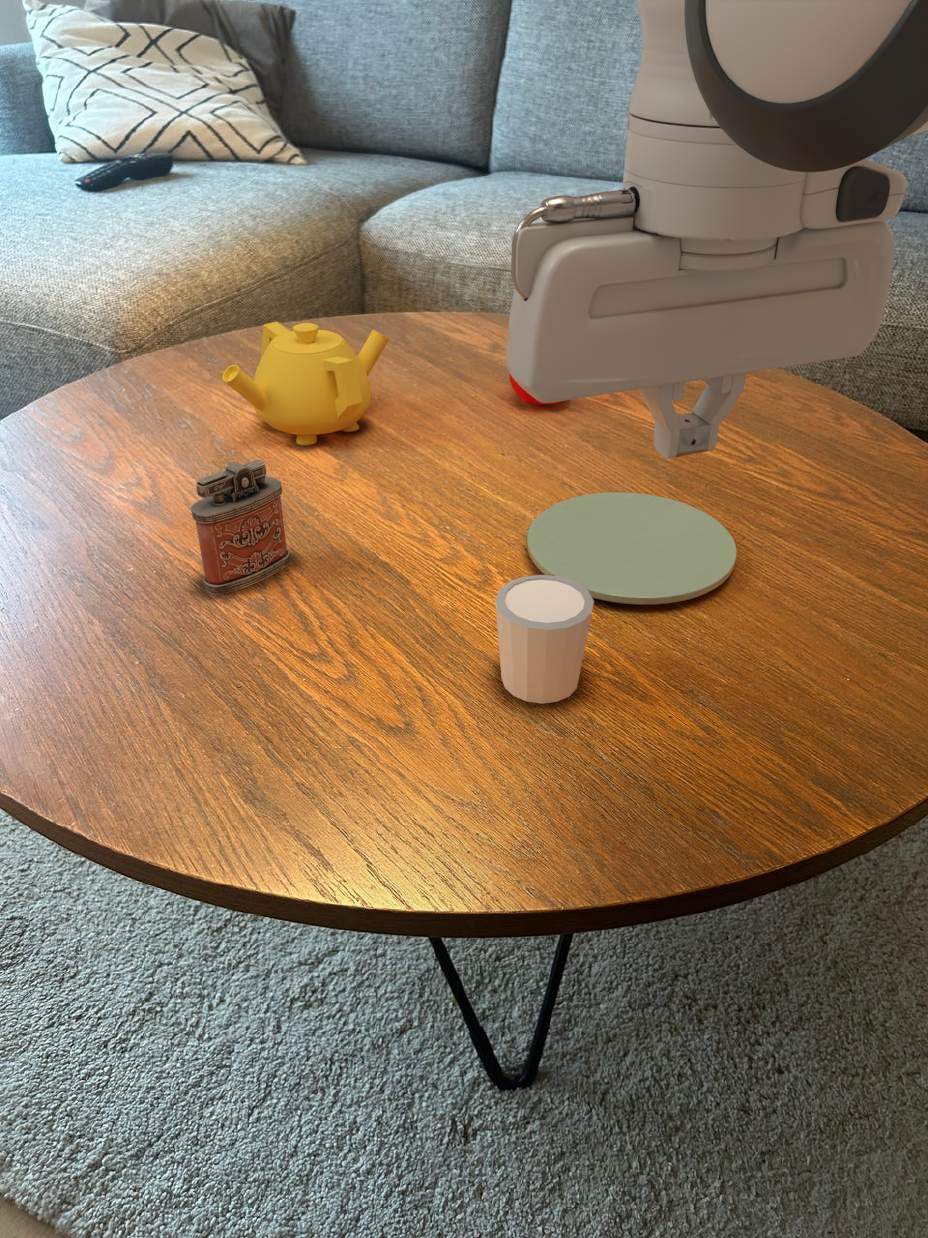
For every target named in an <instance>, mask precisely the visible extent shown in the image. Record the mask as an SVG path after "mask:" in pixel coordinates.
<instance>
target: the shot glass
mask: <svg viewBox="0 0 928 1238" xmlns="http://www.w3.org/2000/svg"><path fill="white" fill-rule="evenodd" d="M594 603H595V600H594V598H592V597H591V595H590V593H589V591H588V590H586V589H585V588H583V587H582V586H581V585H579V584H578V583H576V582H574V581H571V580H568V579H565V578H562V577H557V576H548V575H545V574H536V575H535V574H534V575H525V576H521V577H519V578H516V579H513V580H510V581H507V583H505V584H504V585H503V586H501V588H499V589H498V591H497V593H496V596H495V600H494V605H495V617H496V618H495V619H496V628H497V629H496V630H497V631H496V632H497V641H498V650H499V651H498V653H499V664H500V677H501V682H502V684H503V686H504V689H505V690H507V692H508V693H510V694H511V695H512V696H513V697H515V698H517V699H520V700H522V701H524V702H527V703H533V704H550V703H557V702H560V701H563V700H565V699H567V698H570V696H572V694H573V693H574V692H575V691H576V690H577V689H578V684H579V680H580V675H581V670H582V664H583V659H584V654H585V649H586V644H587V640H588V635H589V629H590V625H591V619H592V614H593V609H594Z"/></svg>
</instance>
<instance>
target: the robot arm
mask: <svg viewBox="0 0 928 1238" xmlns="http://www.w3.org/2000/svg"><path fill="white" fill-rule="evenodd" d="M636 9H637V15H638V19H639V26H640V34H641V52H640V54H641V55H640V61H639V67H638V72H637V75H636V78H635V81H634V85H633V87H632V91H631V95H630V97H629V101H628V109H627V111H628V112H627V122H626V123H627V124H626V135H625V136H626V138H625V148H624V149H625V150H624V151H625V152H624V153H625V154H624V165H623V172H622V173H623V176H622V186H621V187H622V188H621V189H618V190H609V191H607V190H606V191H600V192H599V191H598V192H594V193H590V194H585V195H579V196H573V195H569V194H568V195H567V194H566V195H565V194H563V195H562V194H559V195H555V196H550V197H547V198H545V199H543V200H542V201H541V203H540V207H537V208H535V209H533V210H531V211H530V212H529V213H528V214H526V215H525V216H524V217H523V218H522V219H521V220H520V222H519V223H518V225H517V226H516V227H515V228H514V231H513V234H512V237H511V247H510V248H511V253H510V272H511V273H510V274H511V280H512V283H513V287H514V288H513V293H512V300H511V304H510V310H509V311H510V312H509V318H508V325H507V326H508V327H507V339H506V349H505V353H506V354H505V366H506V369H507V371H508V374H509V373H510V375H511V376H512V377H513V379H514V380H515V381H516V382H517V383H518V384H519V386H520V387H521V388H522V389H524V390H525V391H526V392H527V393H528V394H530V395H531V396H532V397H533V398H535V399H536V400H538V401H539V402H542V403H552V402H558V401H560V402H565V401H570V400H577V399H584V398H590V397H596V396H602V395H611V394H615V393H623V392H629V391H636V390H638V391H639V393H640V395H641V397H642V399H643V401H644V403H645V404H646V407H647V409H648V410H649V413H650V414H651V417H652V418H653V419H654V420H655V422H654V432H653V448H654V450H655V452H656V453H658V454H659V455H660V456H661V457H662V458H664V460H665V459H666V460H667V459H674V458H680V457H684V456H685V457H686V456H691V455H696V454H703V453H707V452H712V451H715V449H716V447H717V441H718V434H719V427H720V423H722V422H723V421H724V419H725V418H726V416H727V415H728V414H729V413H730V411H731V409H732V408H733V407H734V405H735V403H736V402H737V401H738V400H739V398H740V396H742V394H743V393H744V390H745V389H744V387H745V382H746V375H747V374H748V373H754V372H760V371H768V370H774V369H780V368H781V369H782V368H787V367H794V366H801V365H806V364H812V363H819V362H820V363H821V362H827V361H833V360H840V359H841V360H842V359H847V358H848V359H849V358H854V357H859V356H860V355H862V353H863V352H864V351H865V350H866V349H867V348H868V347H869V346H870V344H872V341H873V340H874V339H875V338H876V337H877V335H878V333H879V330H880V328H881V325H882V321H883V318H884V312H885V308H886V304H887V299H888V294H889V290H890V283H891V280H892V279H891V278H892V272H893V266H894V259H895V238H894V233H893V230H892V229H891V226H889V224H887V222H885V221H888V220H891V219H892V218H894V217H896V215H897V214H898V213H899V211H900V209H901V207H902V205H903V202H904V198H905V194H906V189H907V179H906V176H905V175H904V174H903V173H902V172H900V171H898V170H896V169H894V168H891V167H888V166H885V165H883V164H880V163H877V162H875V161H871V160H868V159H867V158H870V157H871V156H873V155H875V154H877V153H879V152H881V151H883V150H885V149H888V148H889V147H891V146H893V145H895V144H896V143H898V142H899V143H900V142H901V141H903V140H905V139H906V138H908V137H911V136H914V135H917V134H920V133H924V132H927V131H928V0H636ZM540 218H541V220H542V221H543V222H542V221H541V222H535V221H536V220H538V219H540ZM697 381H702V382H704V383H705V384H706V385H705V387H704V389H703V391H702V393H701V395H700V396H699V398H698V399H697V402H696V404H695V405H694V407H693V408H692V411H691V412H687V413H682V414H677V412H676V409H675V407H674V403H673V402H679V401H682V399H683V395H684V388H685V387H684V386H685V383H689V382H697Z"/></svg>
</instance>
